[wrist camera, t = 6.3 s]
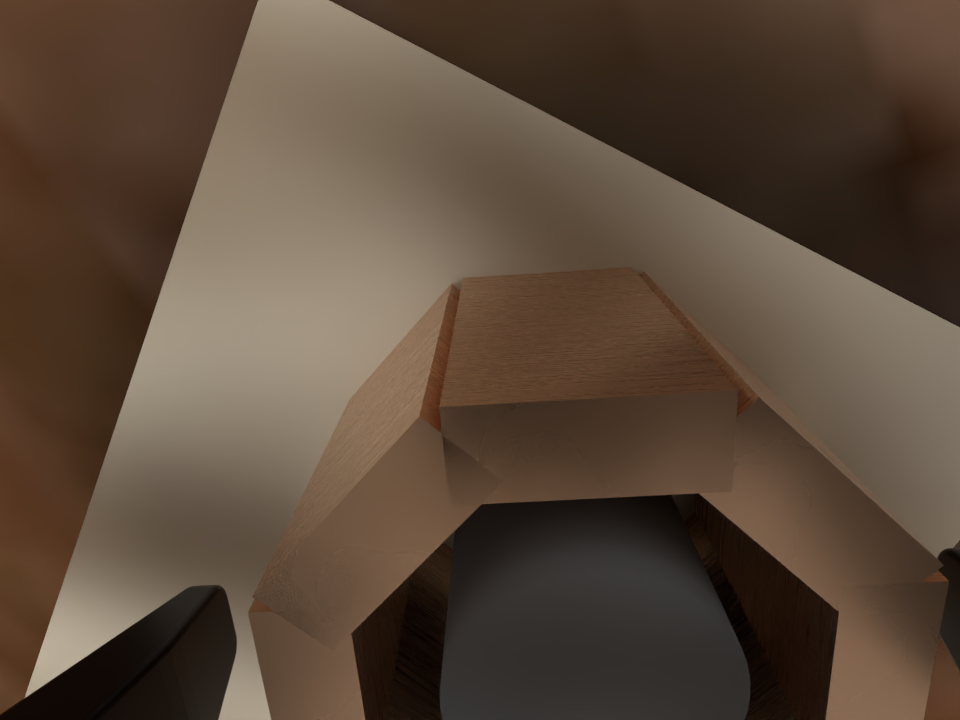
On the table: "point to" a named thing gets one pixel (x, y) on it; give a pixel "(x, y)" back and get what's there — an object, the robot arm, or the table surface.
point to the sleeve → (587, 475)
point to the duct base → (393, 313)
